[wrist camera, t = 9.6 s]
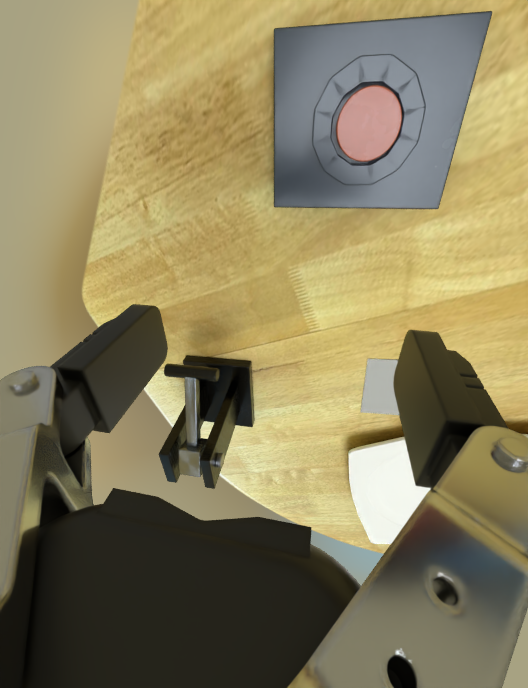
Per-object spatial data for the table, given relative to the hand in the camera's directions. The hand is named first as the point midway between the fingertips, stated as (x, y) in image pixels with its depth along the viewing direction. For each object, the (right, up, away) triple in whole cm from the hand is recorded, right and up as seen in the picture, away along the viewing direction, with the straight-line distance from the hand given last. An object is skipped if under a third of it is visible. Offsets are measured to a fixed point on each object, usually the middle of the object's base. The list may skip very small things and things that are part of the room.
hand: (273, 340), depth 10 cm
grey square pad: (+15, -5, +24) cm, 29 cm away
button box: (+7, +15, +12) cm, 21 cm away
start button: (+6, +13, +9) cm, 17 cm away
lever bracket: (-6, -6, +29) cm, 30 cm away
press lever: (-7, -7, +21) cm, 23 cm away
